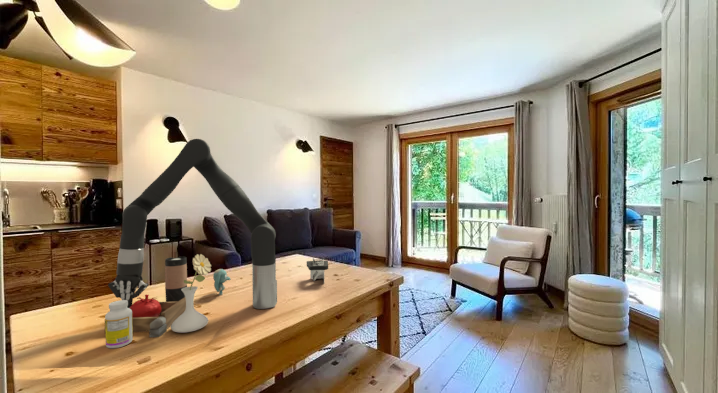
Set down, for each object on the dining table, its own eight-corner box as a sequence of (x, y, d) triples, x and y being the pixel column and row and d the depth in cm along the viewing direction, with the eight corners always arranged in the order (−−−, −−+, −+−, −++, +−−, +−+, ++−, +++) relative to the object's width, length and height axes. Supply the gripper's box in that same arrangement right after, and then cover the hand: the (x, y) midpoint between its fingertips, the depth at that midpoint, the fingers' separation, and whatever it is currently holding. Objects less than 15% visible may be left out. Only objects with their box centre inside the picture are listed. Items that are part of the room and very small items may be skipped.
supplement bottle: (115, 339, 100) (114, 299, 99) (137, 338, 100) (136, 298, 100) (99, 349, 93) (99, 306, 93) (123, 348, 93) (122, 305, 93)
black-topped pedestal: (293, 277, 172) (293, 252, 172) (341, 275, 176) (341, 251, 175) (288, 293, 145) (287, 264, 145) (345, 290, 148) (344, 262, 148)
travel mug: (177, 311, 123) (176, 260, 122) (160, 310, 124) (160, 259, 124) (191, 304, 130) (191, 256, 130) (175, 303, 132) (175, 256, 131)
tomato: (164, 321, 115) (170, 296, 115) (135, 328, 106) (141, 301, 106) (148, 312, 119) (154, 288, 119) (119, 318, 110) (125, 292, 111)
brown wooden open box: (189, 312, 122) (189, 296, 122) (159, 337, 101) (158, 318, 101) (136, 313, 121) (136, 298, 120) (94, 339, 100) (94, 320, 100)
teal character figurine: (230, 298, 138) (230, 270, 138) (212, 300, 136) (212, 272, 136) (230, 290, 148) (230, 265, 148) (214, 292, 146) (213, 267, 146)
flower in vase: (182, 339, 99) (181, 260, 99) (163, 331, 105) (162, 256, 105) (219, 324, 110) (219, 253, 110) (200, 317, 116) (200, 250, 116)
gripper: (156, 260, 116) (151, 306, 116) (118, 257, 115) (114, 305, 115) (143, 264, 109) (139, 314, 108) (103, 261, 108) (98, 312, 108)
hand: (126, 309), depth 112 cm, fingers closed
